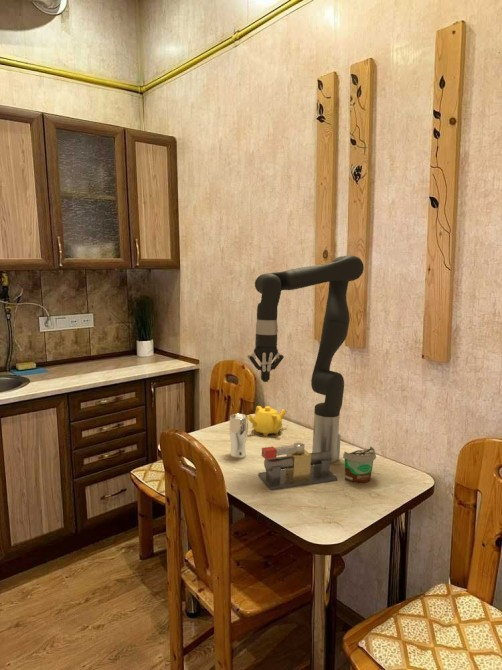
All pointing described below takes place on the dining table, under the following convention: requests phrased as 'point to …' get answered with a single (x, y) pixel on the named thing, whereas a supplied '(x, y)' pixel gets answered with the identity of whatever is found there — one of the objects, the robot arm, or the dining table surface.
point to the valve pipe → (297, 470)
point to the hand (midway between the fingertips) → (265, 381)
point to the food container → (359, 465)
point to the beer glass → (238, 434)
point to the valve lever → (282, 450)
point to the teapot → (267, 420)
